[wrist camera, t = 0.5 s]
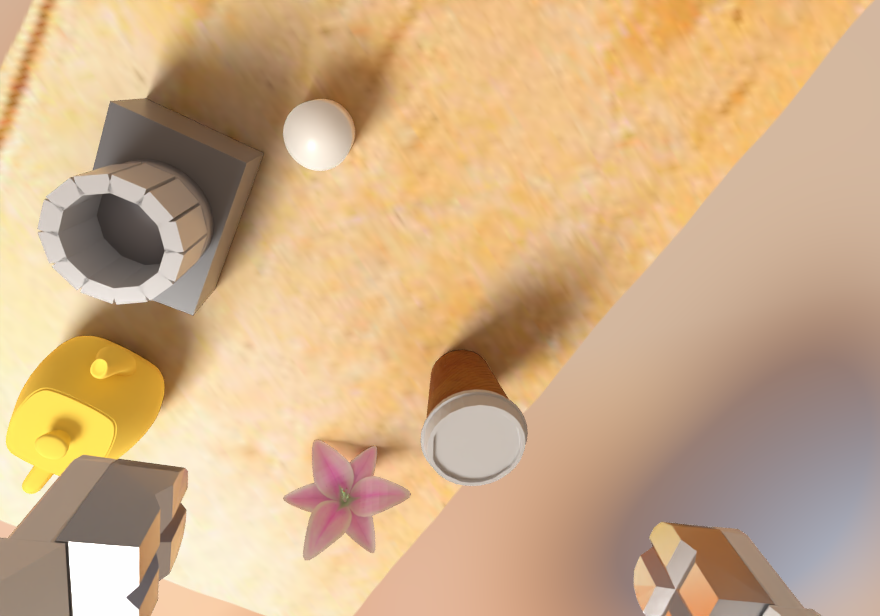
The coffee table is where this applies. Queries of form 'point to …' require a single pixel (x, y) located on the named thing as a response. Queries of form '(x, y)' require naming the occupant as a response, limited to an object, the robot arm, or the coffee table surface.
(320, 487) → the lily
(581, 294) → the coffee table surface
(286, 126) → the white egg
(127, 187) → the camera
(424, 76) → the coffee table surface
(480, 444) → the disposable coffee cup
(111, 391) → the teapot
